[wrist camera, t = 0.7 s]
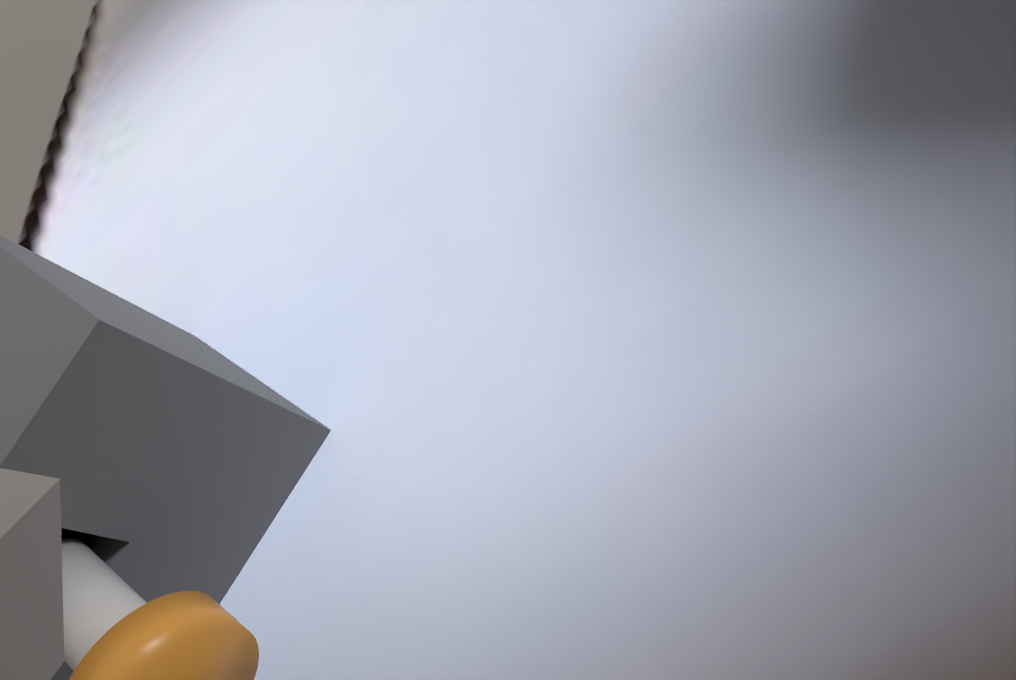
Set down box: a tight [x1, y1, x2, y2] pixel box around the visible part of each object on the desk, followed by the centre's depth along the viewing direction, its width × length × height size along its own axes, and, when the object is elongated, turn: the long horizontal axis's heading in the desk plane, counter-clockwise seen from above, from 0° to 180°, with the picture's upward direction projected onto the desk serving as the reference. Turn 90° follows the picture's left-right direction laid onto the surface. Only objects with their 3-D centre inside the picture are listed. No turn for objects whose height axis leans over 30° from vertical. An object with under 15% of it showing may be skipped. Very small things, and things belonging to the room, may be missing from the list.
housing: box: [0, 235, 330, 680], centre depth 38 cm, size 18×10×14 cm, turn 145°
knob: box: [61, 538, 259, 680], centre depth 32 cm, size 6×8×6 cm
